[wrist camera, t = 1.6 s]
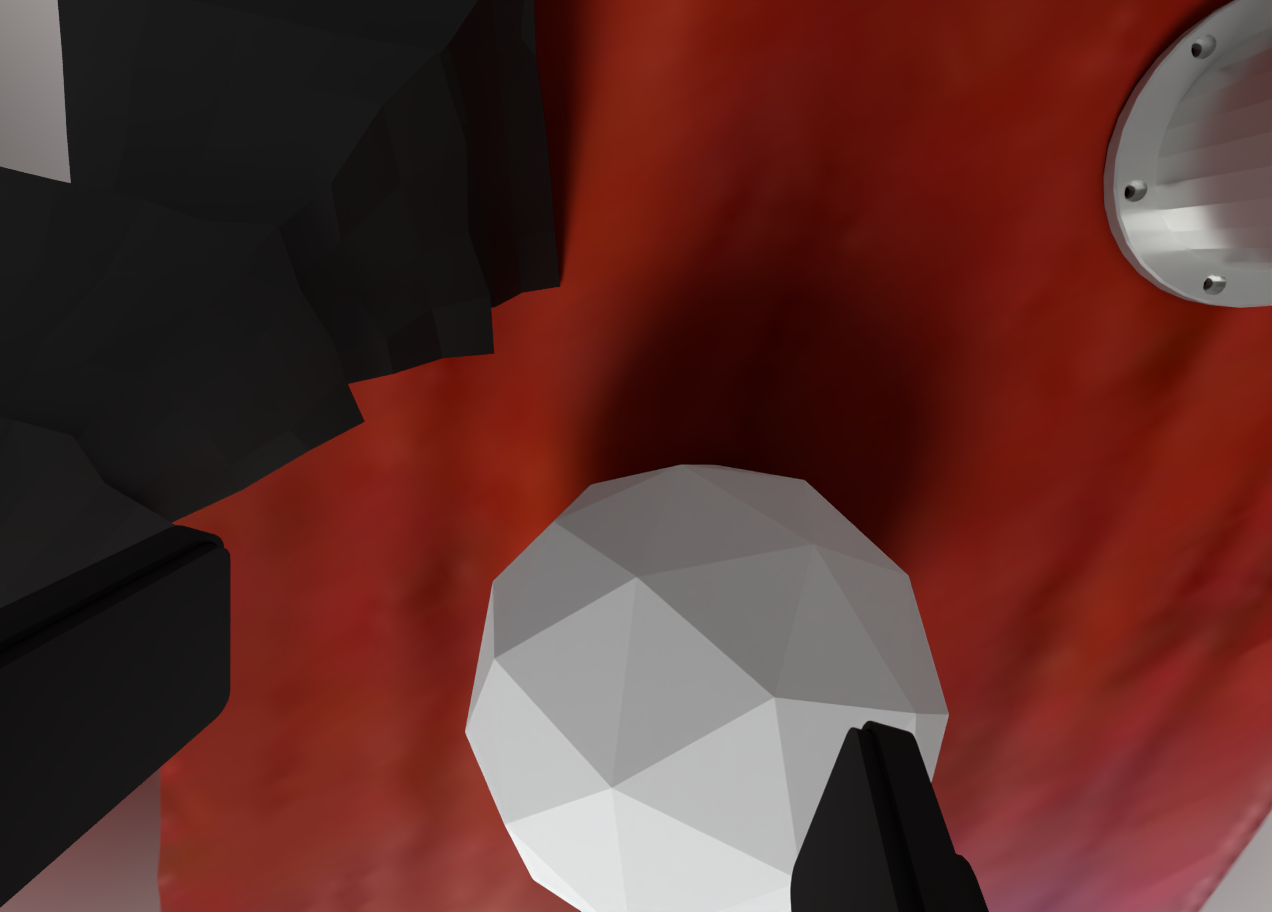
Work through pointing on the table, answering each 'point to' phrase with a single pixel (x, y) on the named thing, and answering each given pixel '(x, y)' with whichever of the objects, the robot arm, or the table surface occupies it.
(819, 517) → the geometric sculpture
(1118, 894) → the table surface
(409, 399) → the table surface
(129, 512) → the decorative tree
